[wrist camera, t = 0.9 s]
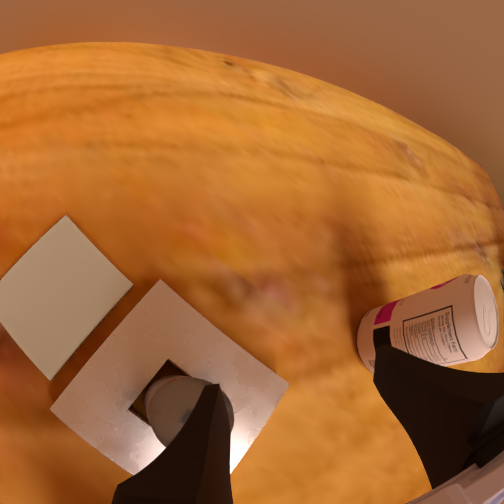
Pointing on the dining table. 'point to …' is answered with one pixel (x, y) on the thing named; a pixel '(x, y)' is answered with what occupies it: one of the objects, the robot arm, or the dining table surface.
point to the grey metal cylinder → (175, 404)
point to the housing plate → (144, 369)
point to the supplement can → (435, 323)
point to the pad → (58, 295)
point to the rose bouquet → (503, 279)
